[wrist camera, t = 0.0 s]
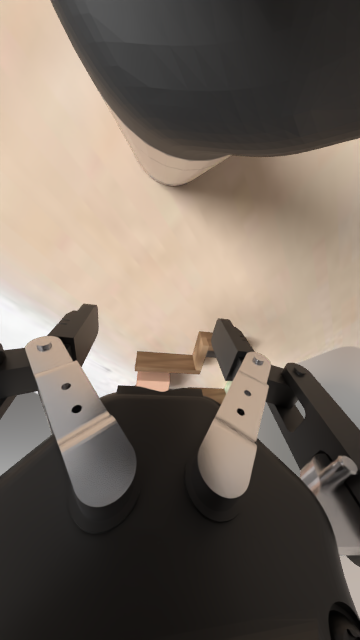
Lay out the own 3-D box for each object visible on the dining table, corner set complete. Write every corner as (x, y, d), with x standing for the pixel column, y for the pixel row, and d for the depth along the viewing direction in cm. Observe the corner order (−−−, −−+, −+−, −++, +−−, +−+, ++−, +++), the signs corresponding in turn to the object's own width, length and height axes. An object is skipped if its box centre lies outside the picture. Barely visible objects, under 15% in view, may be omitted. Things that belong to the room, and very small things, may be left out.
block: (139, 360, 38) (136, 380, 33) (168, 362, 39) (169, 381, 35) (137, 380, 41) (135, 400, 37) (165, 381, 42) (165, 401, 38)
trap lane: (139, 325, 33) (136, 340, 30) (253, 336, 37) (262, 350, 33) (133, 404, 45) (131, 420, 42) (219, 406, 49) (224, 421, 45)
